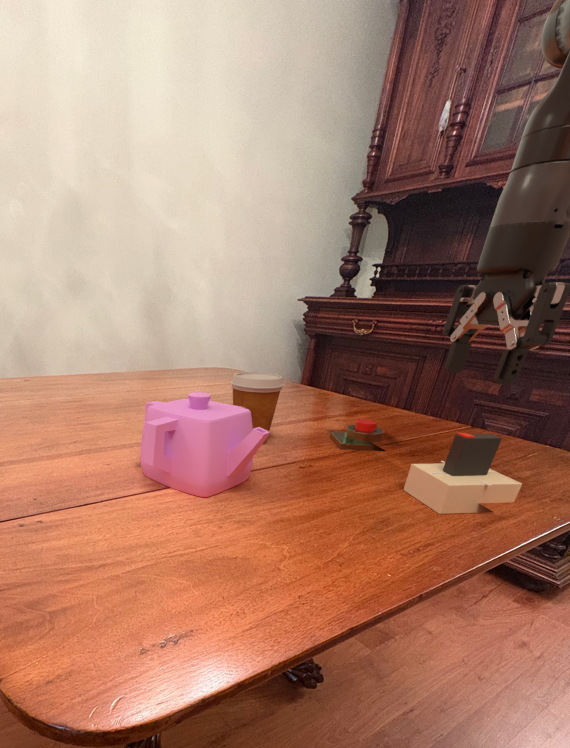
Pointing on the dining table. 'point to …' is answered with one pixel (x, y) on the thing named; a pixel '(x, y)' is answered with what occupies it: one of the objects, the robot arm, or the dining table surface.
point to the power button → (365, 425)
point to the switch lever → (471, 454)
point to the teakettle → (198, 444)
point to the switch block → (357, 439)
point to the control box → (458, 489)
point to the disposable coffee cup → (257, 396)
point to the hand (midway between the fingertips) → (475, 377)
